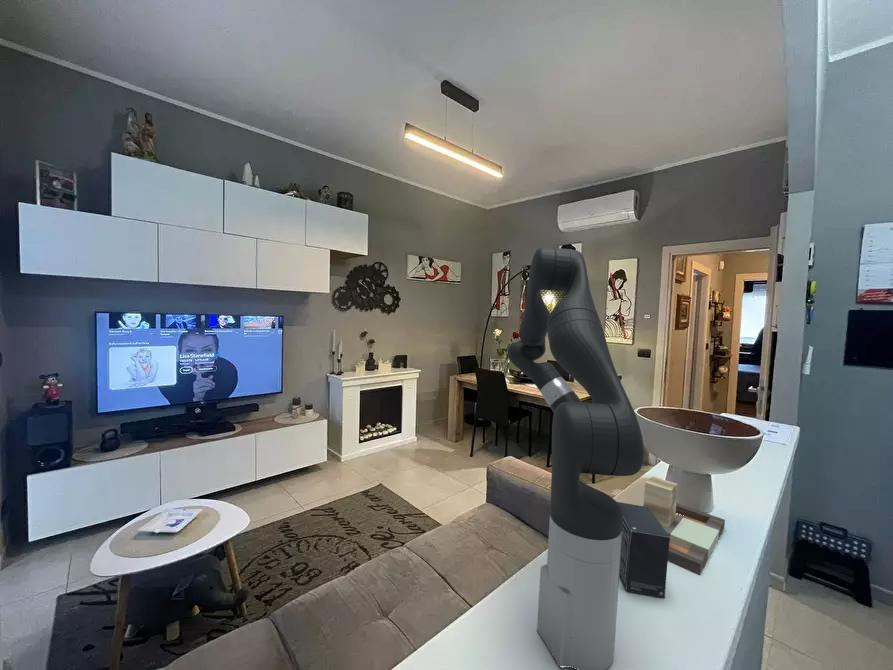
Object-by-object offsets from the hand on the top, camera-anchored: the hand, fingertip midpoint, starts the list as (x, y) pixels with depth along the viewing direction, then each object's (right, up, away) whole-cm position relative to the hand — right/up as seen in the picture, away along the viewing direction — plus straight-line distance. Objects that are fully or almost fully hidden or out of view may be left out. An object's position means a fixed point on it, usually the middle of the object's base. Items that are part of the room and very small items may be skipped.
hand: (604, 457), depth 90 cm
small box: (-5, -13, -24) cm, 28 cm away
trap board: (+11, -13, -11) cm, 20 cm away
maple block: (+8, -11, -8) cm, 16 cm away
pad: (+13, -13, -13) cm, 23 cm away
